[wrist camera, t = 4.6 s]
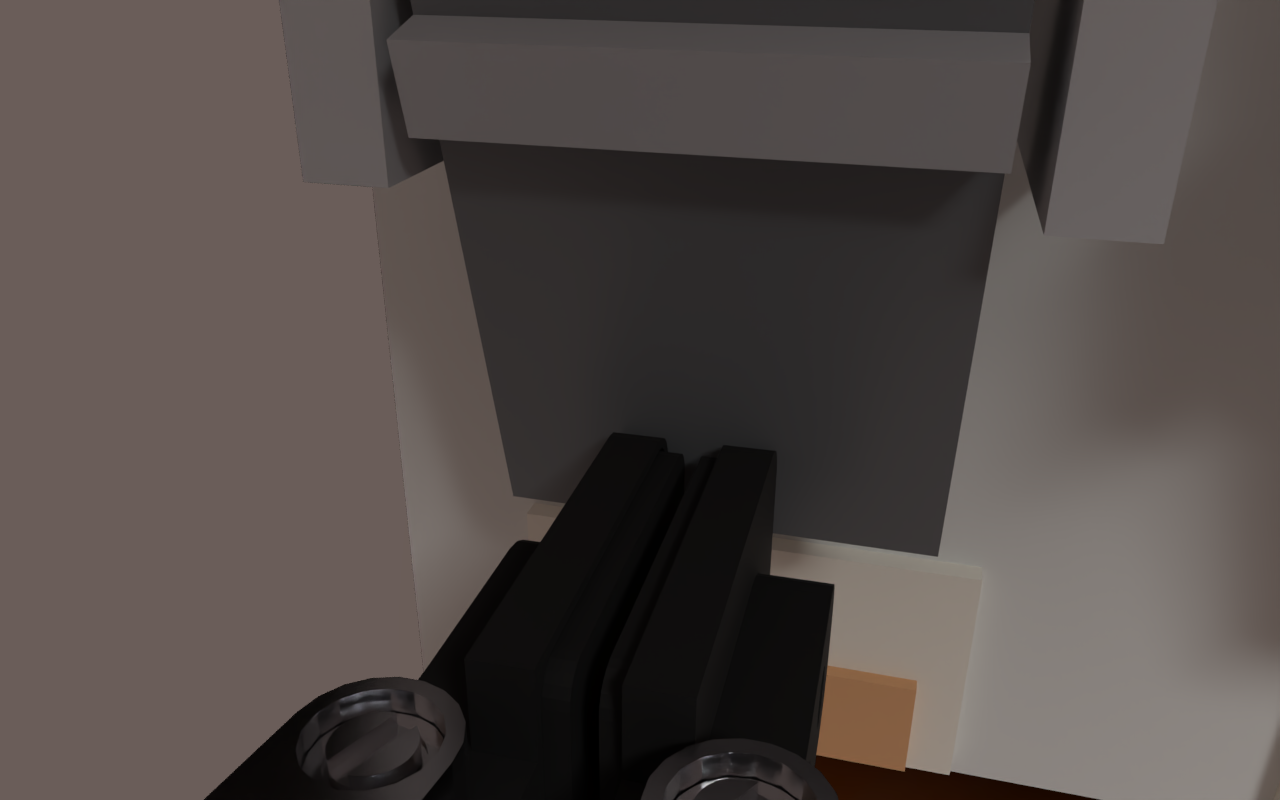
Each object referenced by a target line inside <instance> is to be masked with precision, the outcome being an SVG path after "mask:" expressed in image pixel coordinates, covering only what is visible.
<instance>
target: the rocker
mask: <svg viewBox="0 0 1280 800" xmlns="http://www.w3.org/2000/svg"><path fill="white" fill-rule="evenodd" d="M410 1H411V6H412V11H413V16H411V17H410V18H409V19H408V20H407V21H406V22H405V23H404V24H403V25H402V26H401V27H400V28H398V29H397V30H396V31H395V32H394V33H393V34H392V35H391V36H390V37H389V38H388V39H386V41H387V45H388V49H389V54H390V58H391V63H392V67H393V71H394V76H395V80H396V85H397V89H398V93H399V98H400V102H401V106H402V111H403V115H404V120H405V124H406V128H407V133H408V137H409V138H421V139H438V140H439V141H440V145H441V150H442V155H443V160H444V165H445V170H446V174H447V179H448V184H449V189H450V194H451V198H452V203H453V208H454V213H455V218H456V222H457V227H458V232H459V237H460V242H461V247H462V251H463V256H464V261H465V266H466V271H467V275H468V280H469V285H470V290H471V295H472V299H473V304H474V309H475V314H476V319H477V324H478V328H479V333H480V338H481V343H482V348H483V352H484V357H485V362H486V367H487V372H488V376H489V381H490V386H491V391H492V396H493V401H494V405H495V410H496V415H497V420H498V425H499V429H500V434H501V439H502V444H503V449H504V453H505V458H506V463H507V468H508V473H509V478H510V482H511V487H512V492H513V496H516V497H523V498H530V499H537V500H544V501H551V502H558V503H565V504H566V502H567V501H568V499H569V497H570V496H571V494H572V493H573V491H574V490H575V488H576V487H577V485H578V484H579V482H580V481H581V479H582V478H583V476H584V475H585V473H586V471H587V470H588V468H589V467H590V465H591V464H592V462H593V461H594V459H595V458H596V456H597V455H598V453H599V452H600V450H601V448H602V447H603V445H604V444H605V442H606V441H607V439H608V438H609V436H610V435H611V434H612V433H613V432H616V433H625V434H634V435H642V436H651V437H659V438H665V440H666V442H667V448H668V452H672V453H680V454H683V456H684V462H685V475H684V493H685V491H686V489H687V486H688V484H689V482H690V480H691V478H692V475H693V473H694V471H695V469H696V467H697V464H698V462H699V460H700V458H701V457H702V456H706V457H714V458H718V455H719V453H720V451H721V448H722V447H723V445H729V446H737V447H746V448H754V449H763V450H772V451H776V453H777V475H776V490H775V506H774V521H773V533H775V534H782V535H789V536H796V537H802V538H809V539H816V540H823V541H830V542H837V543H844V544H851V545H858V546H865V547H872V548H879V549H886V550H893V551H900V552H907V553H914V554H921V555H928V556H935V557H938V554H939V548H940V542H941V537H942V531H943V525H944V519H945V514H946V508H947V502H948V496H949V491H950V485H951V479H952V474H953V468H954V462H955V456H956V451H957V445H958V439H959V434H960V428H961V422H962V416H963V411H964V405H965V399H966V393H967V388H968V382H969V376H970V371H971V365H972V359H973V353H974V348H975V342H976V336H977V330H978V325H979V319H980V313H981V308H982V302H983V296H984V290H985V285H986V279H987V273H988V267H989V262H990V256H991V250H992V245H993V239H994V233H995V227H996V222H997V216H998V210H999V204H1000V199H1001V193H1002V187H1003V182H1004V176H1005V173H1006V174H1011V171H1012V166H1013V160H1014V154H1015V149H1016V143H1017V138H1018V132H1019V126H1020V121H1021V115H1022V110H1023V104H1024V99H1025V93H1026V87H1027V82H1028V76H1029V71H1030V65H1031V56H1030V35H1029V33H1030V27H1031V21H1032V16H1033V10H1034V4H1035V0H410Z"/></svg>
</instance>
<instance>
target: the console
mask: <svg viewBox="0 0 1280 800" xmlns="http://www.w3.org/2000/svg"><path fill="white" fill-rule="evenodd" d="M279 3H280V10H281V18H282V25H283V33H284V40H285V48H286V56H287V63H288V71H289V78H290V86H291V93H292V101H293V108H294V116H295V123H296V131H297V138H298V145H299V153H300V161H301V168H302V176H303V182H310V183H324V184H338V185H352V186H365V187H372V188H373V197H374V207H375V216H376V225H377V234H378V244H379V254H380V263H381V273H382V283H383V291H384V301H385V311H386V321H387V330H388V340H389V349H390V359H391V368H392V377H393V387H394V397H395V406H396V415H397V424H398V434H399V443H400V453H401V462H402V472H403V482H404V491H405V501H406V510H407V520H408V529H409V538H410V548H411V556H412V557H411V558H412V566H413V576H414V586H415V595H416V605H417V614H418V623H419V633H420V643H421V652H422V662H423V670H424V671H425V669H426V668H427V667H428V665H429V664H430V662H431V661H432V659H433V658H434V657H435V655H436V654H437V652H438V651H439V649H440V648H441V647H442V645H443V644H444V642H445V641H446V639H447V638H448V636H449V635H450V634H451V632H452V631H453V629H454V628H455V626H456V625H457V624H458V622H459V621H460V619H461V618H462V616H463V615H464V614H465V612H466V611H467V609H468V608H469V606H470V605H471V603H472V602H473V601H474V599H475V598H476V596H477V595H478V593H479V592H480V591H481V589H482V588H483V586H484V585H485V583H486V582H487V581H488V579H489V578H490V576H491V575H492V573H493V572H494V570H495V569H496V568H497V566H498V565H499V563H500V562H501V560H502V559H503V558H504V556H505V555H506V553H507V552H508V550H509V549H510V548H511V547H512V546H513V545H514V544H515V543H516V541H519V540H529V541H536V542H541V540H542V539H543V537H544V536H545V534H546V533H547V531H548V530H549V528H550V527H551V525H552V523H553V522H554V520H555V519H556V517H557V516H558V514H559V513H560V511H561V510H562V508H563V507H564V505H565V503H558V502H551V501H544V500H537V499H530V498H523V497H516V496H513V492H512V487H511V482H510V478H509V473H508V468H507V463H506V458H505V453H504V449H503V444H502V439H501V434H500V429H499V425H498V420H497V415H496V410H495V405H494V401H493V396H492V391H491V386H490V381H489V376H488V372H487V367H486V362H485V357H484V352H483V348H482V343H481V338H480V333H479V328H478V324H477V319H476V314H475V309H474V304H473V299H472V295H471V290H470V285H469V280H468V275H467V271H466V266H465V261H464V256H463V251H462V247H461V242H460V237H459V232H458V227H457V222H456V218H455V213H454V208H453V203H452V198H451V194H450V189H449V184H448V179H447V174H446V170H445V165H444V160H443V155H442V150H441V145H440V141H439V140H438V139H421V138H409V137H408V133H407V128H406V124H405V120H404V115H403V111H402V106H401V102H400V98H399V93H398V89H397V85H396V80H395V76H394V71H393V67H392V63H391V58H390V54H389V49H388V45H387V41H386V39H388V38H389V37H390V36H391V35H392V34H393V33H394V32H395V31H396V30H397V29H398V28H400V27H401V26H402V25H403V24H404V23H405V22H406V21H407V20H408V19H409V18H410V17H411V16H413V11H412V6H411V1H410V0H279ZM1029 35H1030V56H1031V65H1030V71H1029V76H1028V82H1027V87H1026V93H1025V99H1024V104H1023V110H1022V115H1021V121H1020V126H1019V132H1018V138H1017V143H1016V149H1015V154H1014V160H1013V166H1012V171H1011V174H1006V173H1005V176H1004V182H1003V187H1002V193H1001V199H1000V204H999V210H998V216H997V222H996V227H995V233H994V239H993V245H992V250H991V256H990V262H989V267H988V273H987V279H986V285H985V290H984V296H983V302H982V308H981V313H980V319H979V325H978V330H977V336H976V342H975V348H974V353H973V359H972V365H971V371H970V376H969V382H968V388H967V393H966V399H965V405H964V411H963V416H962V422H961V428H960V434H959V439H958V445H957V451H956V456H955V462H954V468H953V474H952V479H951V485H950V491H949V496H948V502H947V508H946V514H945V519H944V525H943V531H942V537H941V542H940V548H939V554H938V557H935V556H928V555H921V554H914V553H907V552H900V551H893V550H886V549H879V548H872V547H865V546H858V545H851V544H844V543H837V542H830V541H823V540H816V539H809V538H802V537H796V536H789V535H782V534H775V533H773V537H772V552H771V568H770V575H774V576H781V577H788V578H795V579H802V580H809V581H816V582H823V583H830V584H834V585H835V590H834V603H833V615H832V625H831V636H830V646H829V656H828V666H827V675H826V684H825V693H824V701H823V710H822V717H821V725H820V732H819V739H818V746H817V753H816V755H820V756H825V757H830V758H836V759H841V760H846V761H851V762H857V763H862V764H867V765H872V766H877V767H883V768H888V769H893V770H898V771H904V772H905V767H908V768H914V769H919V770H924V771H929V772H935V773H940V774H945V775H950V771H952V772H958V773H963V774H968V775H974V776H979V777H984V778H989V779H995V780H1000V781H1005V782H1011V783H1016V784H1021V785H1027V786H1032V787H1037V788H1042V789H1048V790H1053V791H1058V792H1064V793H1069V794H1074V795H1080V796H1085V797H1090V798H1095V799H1101V800H1280V0H1035V4H1034V10H1033V16H1032V21H1031V27H1030V33H1029Z"/></svg>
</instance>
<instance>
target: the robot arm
mask: <svg viewBox="0 0 1280 800" xmlns="http://www.w3.org/2000/svg"><path fill="white" fill-rule="evenodd" d="M684 475H685V462H684V456H683V454H680V453H672V452H668V448H667V442H666V440H665V438H659V437H651V436H642V435H634V434H625V433H616V432H613V433H612V434H611V435H610V436H609V438H608V439H607V441H606V442H605V444H604V445H603V447H602V448H601V450H600V452H599V453H598V455H597V456H596V458H595V459H594V461H593V462H592V464H591V465H590V467H589V468H588V470H587V471H586V473H585V475H584V476H583V478H582V479H581V481H580V482H579V484H578V485H577V487H576V488H575V490H574V491H573V493H572V494H571V496H570V497H569V499H568V501H567V502H566V504H565V505H564V507H563V508H562V510H561V511H560V513H559V514H558V516H557V517H556V519H555V520H554V522H553V523H552V525H551V527H550V528H549V530H548V531H547V533H546V534H545V536H544V537H543V539H542V540H541V542H536V541H529V540H519V541H516V543H515V544H514V545H513V546H512V547H511V548H510V549H509V550H508V552H507V553H506V555H505V556H504V558H503V559H502V560H501V562H500V563H499V565H498V566H497V568H496V569H495V570H494V572H493V573H492V575H491V576H490V578H489V579H488V581H487V582H486V583H485V585H484V586H483V588H482V589H481V591H480V592H479V593H478V595H477V596H476V598H475V599H474V601H473V602H472V603H471V605H470V606H469V608H468V609H467V611H466V612H465V614H464V615H463V616H462V618H461V619H460V621H459V622H458V624H457V625H456V626H455V628H454V629H453V631H452V632H451V634H450V635H449V636H448V638H447V639H446V641H445V642H444V644H443V645H442V647H441V648H440V649H439V651H438V652H437V654H436V655H435V657H434V658H433V659H432V661H431V662H430V664H429V665H428V667H427V668H426V669H425V671H424V673H423V674H422V675H421V677H420V678H419V680H414V679H408V678H402V677H386V678H370V679H366V680H362V681H358V682H353V683H349V684H345V685H342V686H340V687H338V688H336V689H334V690H331V691H329V692H327V693H325V694H323V695H320V696H318V697H317V698H315V699H314V700H313V701H312V702H310V703H309V704H308V705H306V706H305V707H303V708H302V709H301V710H299V711H298V712H297V713H295V714H294V715H293V716H292V717H291V718H290V719H289V720H288V721H287V722H286V723H285V724H284V725H283V726H282V727H281V728H280V729H279V730H277V731H276V732H275V733H274V734H273V735H272V736H271V737H270V738H269V739H268V740H267V741H266V742H265V743H264V744H262V745H261V746H260V747H259V748H258V749H257V750H256V751H255V752H254V753H253V754H252V755H251V756H250V757H249V758H248V759H246V760H245V761H244V762H243V763H242V764H241V765H240V766H239V767H238V768H237V769H236V770H235V771H234V772H233V773H232V774H230V775H229V776H228V777H227V778H226V779H225V780H224V781H223V782H222V783H221V784H220V785H219V786H218V787H217V788H216V789H214V790H213V792H211V793H210V794H209V795H208V796H207V797H206V798H205V799H204V800H838V797H837V794H836V792H835V791H834V789H833V788H832V787H831V785H830V784H829V783H828V781H827V780H826V779H825V777H824V776H823V775H822V773H821V772H820V771H819V770H817V769H816V768H815V760H816V753H817V746H818V739H819V732H820V725H821V717H822V710H823V701H824V693H825V684H826V675H827V666H828V656H829V646H830V636H831V625H832V615H833V603H834V590H835V585H834V584H830V583H823V582H816V581H809V580H802V579H795V578H788V577H781V576H774V575H770V568H771V552H772V537H773V521H774V506H775V490H776V475H777V453H776V451H772V450H763V449H754V448H746V447H737V446H729V445H723V447H722V448H721V451H720V453H719V455H718V458H714V457H706V456H702V457H701V458H700V460H699V462H698V464H697V467H696V469H695V471H694V473H693V475H692V478H691V480H690V482H689V484H688V486H687V489H686V491H685V493H684Z"/></svg>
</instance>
